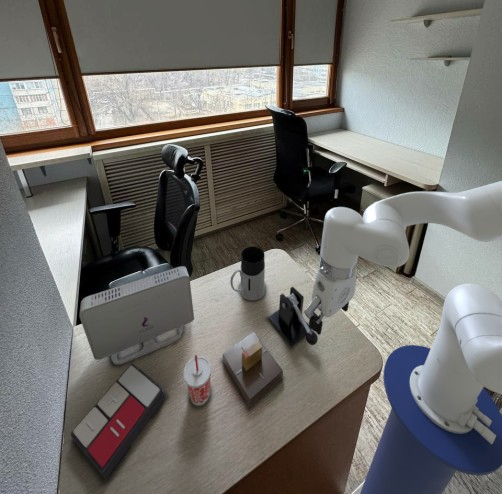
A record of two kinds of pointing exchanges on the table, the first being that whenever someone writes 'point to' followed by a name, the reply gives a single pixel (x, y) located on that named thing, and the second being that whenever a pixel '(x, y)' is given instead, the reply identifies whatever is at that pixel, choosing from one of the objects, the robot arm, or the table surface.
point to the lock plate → (252, 370)
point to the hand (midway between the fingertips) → (328, 317)
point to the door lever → (303, 321)
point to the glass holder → (251, 273)
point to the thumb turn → (251, 356)
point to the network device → (137, 314)
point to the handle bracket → (289, 318)
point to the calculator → (117, 419)
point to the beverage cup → (198, 379)
